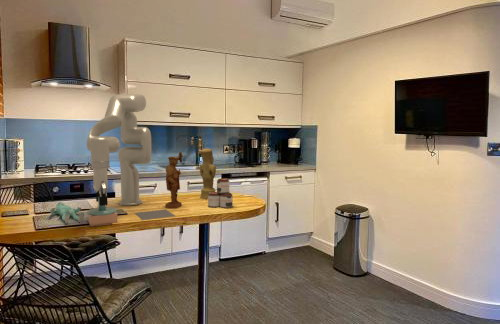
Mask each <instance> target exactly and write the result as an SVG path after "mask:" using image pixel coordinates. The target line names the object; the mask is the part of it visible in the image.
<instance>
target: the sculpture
mask: <svg viewBox="0 0 500 324" xmlns="http://www.w3.org/2000/svg"><path fill="white" fill-rule="evenodd" d="M183 157H184V155H183V153H182V152H181V151H179V152H178V156H168V157H167V159H168V162H169V164H167V166H166V168H165V172H166V175H165V185H166V191H169V192H170V195H171V196H170V199H171V200H170V201H169V202H167V203H165V207H164V208H165V209H173V210H175V209H179V208H181V207H182V206H183V205H182V202H180V201H179V200H178V191H180V190H181V185H180V184H181V182H180V176H181V175H182V173H181V168H179V169H177V165H178V164H179V163H183Z"/></svg>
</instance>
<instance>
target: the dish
mask: <svg viewBox="0 0 500 324" xmlns="http://www.w3.org/2000/svg"><path fill="white" fill-rule="evenodd" d="M86 213H87V222H89V223H88V225H89V226H90V227H100V226H106V225H108V226H109V225H113V224H116V223H118V212H116V213H113V214H109V215H101V216H94V215H89V214H88V210H87V212H86Z"/></svg>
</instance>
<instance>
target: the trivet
mask: <svg viewBox="0 0 500 324" xmlns="http://www.w3.org/2000/svg"><path fill="white" fill-rule="evenodd" d="M134 215H135V216H137V217H138V218H139V219H140V220H141V221H146V220H147V221H148V220H154V219H163V218H172V217H176V215H175V214H173V213H172V212H170V211H169V210H167V208H165V209H157V210H149V211H148V210H147V211H139V212H134Z"/></svg>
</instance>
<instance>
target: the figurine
mask: <svg viewBox="0 0 500 324" xmlns="http://www.w3.org/2000/svg"><path fill="white" fill-rule="evenodd" d="M49 212H50V214H51V215H58V217H56V219H59V220H60V218H61V219H62V221H63V222H64V223H65V224H67V223H68V224H69V223H70V217H72V218H73V220H74V221H77V222H78V223H79V222H82V223H83V220H84V218H85V212H83V211H82V207H79V206H78V207H77V208H73V207H71V206H69V205H66V204H65V203H63V202H61V201H59V202H58V203H57V204H56V206H54V207H52V208H50V209H49ZM79 212H80V213H79ZM77 213H79V216H78V215H77Z"/></svg>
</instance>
